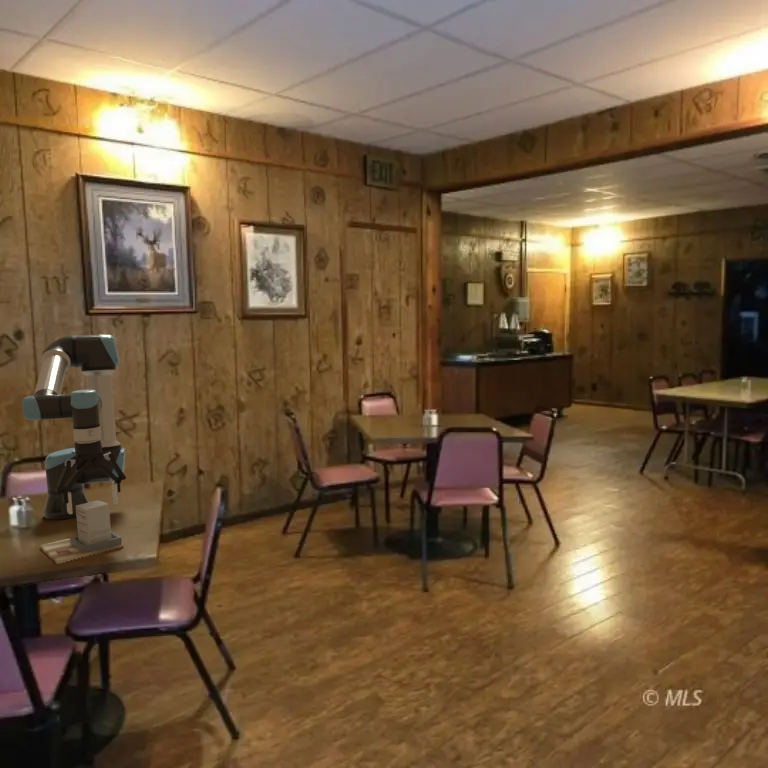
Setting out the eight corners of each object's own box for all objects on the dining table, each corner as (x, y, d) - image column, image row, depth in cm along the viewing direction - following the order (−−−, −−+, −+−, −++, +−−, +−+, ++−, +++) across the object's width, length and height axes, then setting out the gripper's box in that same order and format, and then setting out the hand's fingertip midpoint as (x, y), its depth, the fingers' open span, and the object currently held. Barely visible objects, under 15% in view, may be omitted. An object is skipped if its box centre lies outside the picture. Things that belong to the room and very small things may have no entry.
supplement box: (101, 538, 207) (98, 499, 205) (112, 543, 202) (109, 503, 200) (78, 544, 201) (74, 505, 200) (88, 550, 196) (85, 509, 195)
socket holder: (70, 543, 202) (69, 537, 202) (108, 534, 210) (108, 528, 209) (82, 553, 193) (81, 547, 193) (121, 543, 201) (121, 537, 201)
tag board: (40, 548, 202) (40, 544, 201) (103, 533, 214) (103, 529, 214) (57, 564, 188) (57, 559, 188) (123, 547, 201) (123, 543, 201)
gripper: (46, 449, 187) (53, 520, 190) (133, 436, 203) (138, 501, 206) (39, 445, 192) (46, 514, 195) (124, 432, 209) (129, 496, 212)
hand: (93, 508), depth 201 cm, fingers open, 13 cm apart
